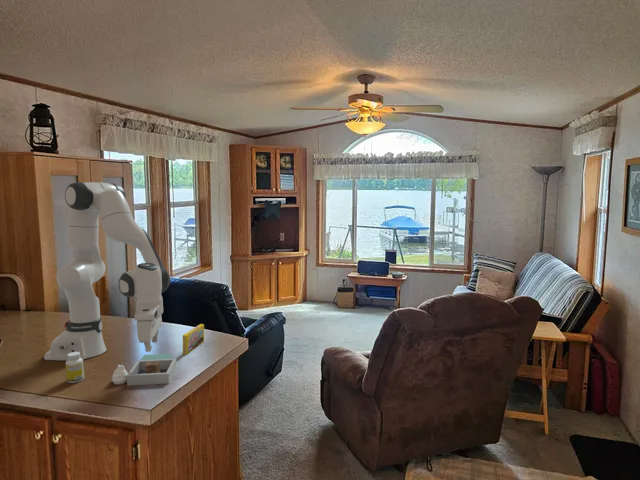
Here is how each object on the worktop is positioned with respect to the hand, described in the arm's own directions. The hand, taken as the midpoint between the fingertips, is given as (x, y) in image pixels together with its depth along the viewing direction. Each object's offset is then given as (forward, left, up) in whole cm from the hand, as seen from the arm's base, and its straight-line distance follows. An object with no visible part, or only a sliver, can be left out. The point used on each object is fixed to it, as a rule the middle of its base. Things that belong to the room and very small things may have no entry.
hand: (151, 346), depth 164 cm
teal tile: (-3, +14, -11) cm, 18 cm away
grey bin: (0, 0, -11) cm, 11 cm away
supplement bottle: (-27, 0, -11) cm, 29 cm away
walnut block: (0, 0, -11) cm, 11 cm away
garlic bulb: (-10, -3, -12) cm, 16 cm away
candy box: (+10, +28, -12) cm, 32 cm away
